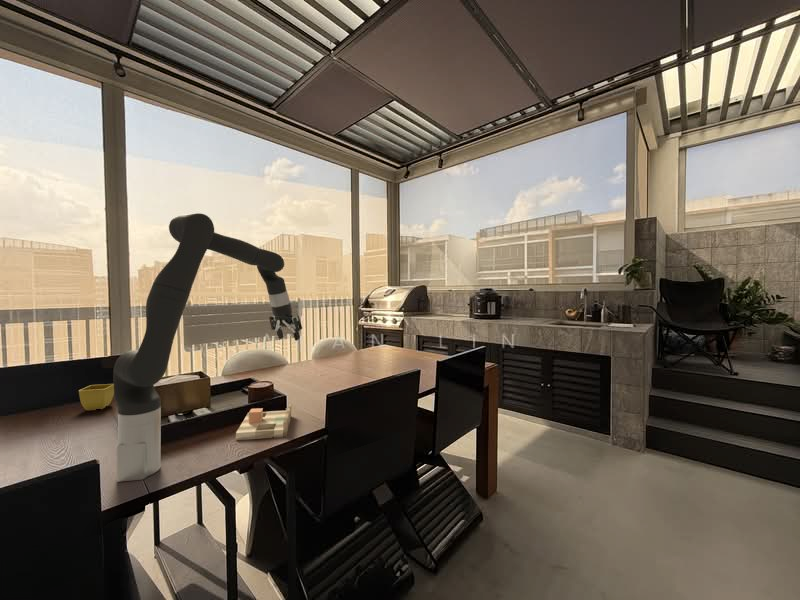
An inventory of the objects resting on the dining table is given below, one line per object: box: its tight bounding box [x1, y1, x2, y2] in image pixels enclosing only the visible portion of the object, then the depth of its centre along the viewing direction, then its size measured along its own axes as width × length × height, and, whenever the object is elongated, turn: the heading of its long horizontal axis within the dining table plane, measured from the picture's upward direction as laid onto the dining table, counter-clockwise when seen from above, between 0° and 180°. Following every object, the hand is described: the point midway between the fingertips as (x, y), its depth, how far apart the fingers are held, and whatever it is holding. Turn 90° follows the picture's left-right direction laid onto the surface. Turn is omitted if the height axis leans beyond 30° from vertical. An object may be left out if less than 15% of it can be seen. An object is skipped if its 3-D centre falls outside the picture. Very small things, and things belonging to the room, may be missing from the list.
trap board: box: [235, 403, 292, 441], centre depth 123 cm, size 19×16×5 cm
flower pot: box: [78, 383, 114, 411], centre depth 138 cm, size 9×9×9 cm
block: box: [248, 407, 264, 424], centre depth 122 cm, size 4×4×4 cm
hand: (289, 339), depth 140 cm, fingers open, 8 cm apart
